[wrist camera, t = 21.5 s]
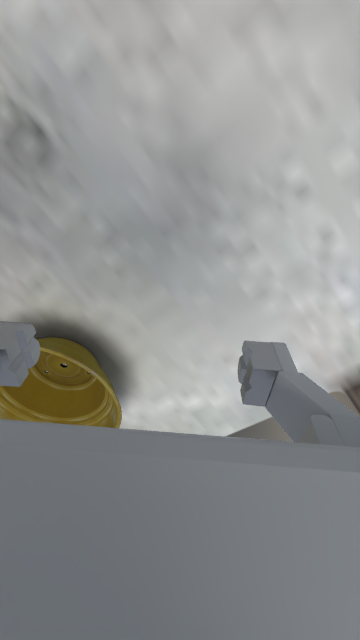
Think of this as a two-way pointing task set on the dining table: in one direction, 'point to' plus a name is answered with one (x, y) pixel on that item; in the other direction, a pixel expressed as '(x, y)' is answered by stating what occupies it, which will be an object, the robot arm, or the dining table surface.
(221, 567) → the robot arm
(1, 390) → the planter bowl
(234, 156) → the dining table surface
